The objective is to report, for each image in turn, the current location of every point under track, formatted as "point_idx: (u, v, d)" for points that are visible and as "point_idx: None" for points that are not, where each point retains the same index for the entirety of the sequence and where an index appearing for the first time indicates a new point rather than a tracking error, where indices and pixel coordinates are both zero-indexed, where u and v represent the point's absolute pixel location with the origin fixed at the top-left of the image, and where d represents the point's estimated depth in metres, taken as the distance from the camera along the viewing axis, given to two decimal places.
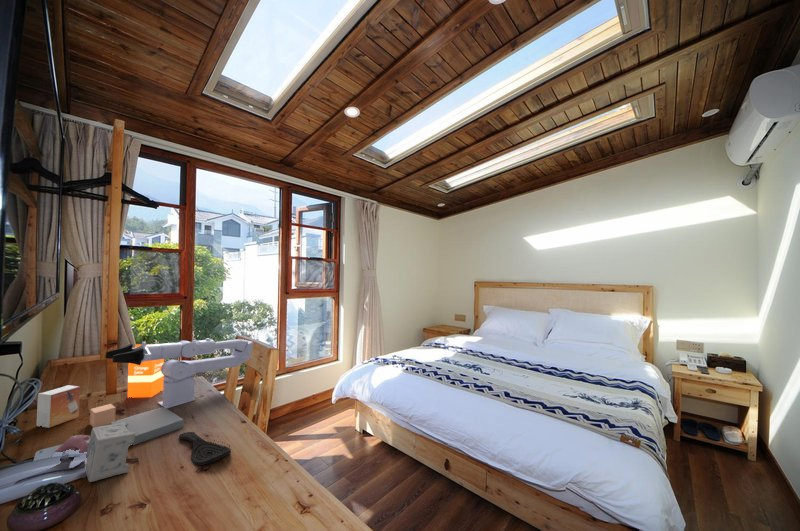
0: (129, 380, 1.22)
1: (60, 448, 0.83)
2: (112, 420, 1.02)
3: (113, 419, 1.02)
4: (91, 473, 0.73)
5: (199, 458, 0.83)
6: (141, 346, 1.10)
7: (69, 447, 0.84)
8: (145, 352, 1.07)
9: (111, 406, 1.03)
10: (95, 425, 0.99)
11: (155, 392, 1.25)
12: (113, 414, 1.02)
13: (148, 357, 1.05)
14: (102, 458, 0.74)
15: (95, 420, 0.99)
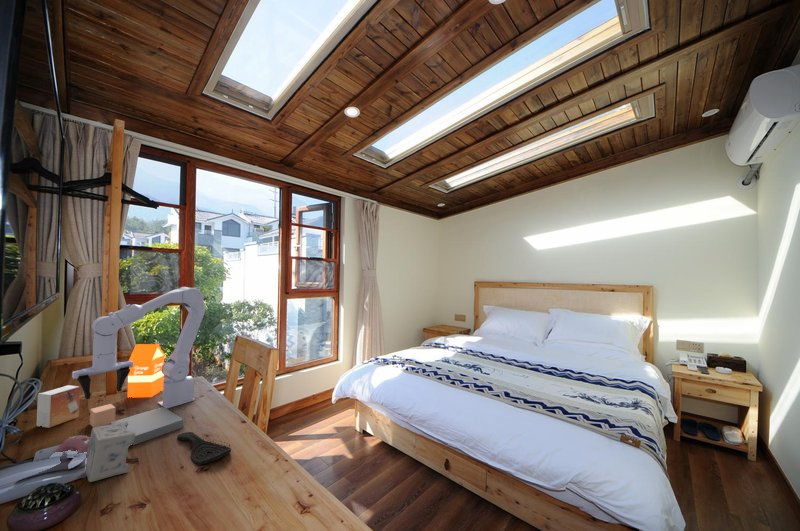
0: (129, 380, 1.22)
1: (58, 449, 0.82)
2: (112, 420, 1.02)
3: (113, 419, 1.02)
4: (91, 473, 0.73)
5: (199, 458, 0.83)
6: None
7: (67, 448, 0.83)
8: None
9: (111, 406, 1.03)
10: (95, 425, 0.99)
11: (155, 392, 1.25)
12: (113, 414, 1.02)
13: (72, 375, 0.96)
14: (102, 458, 0.74)
15: (95, 420, 0.99)
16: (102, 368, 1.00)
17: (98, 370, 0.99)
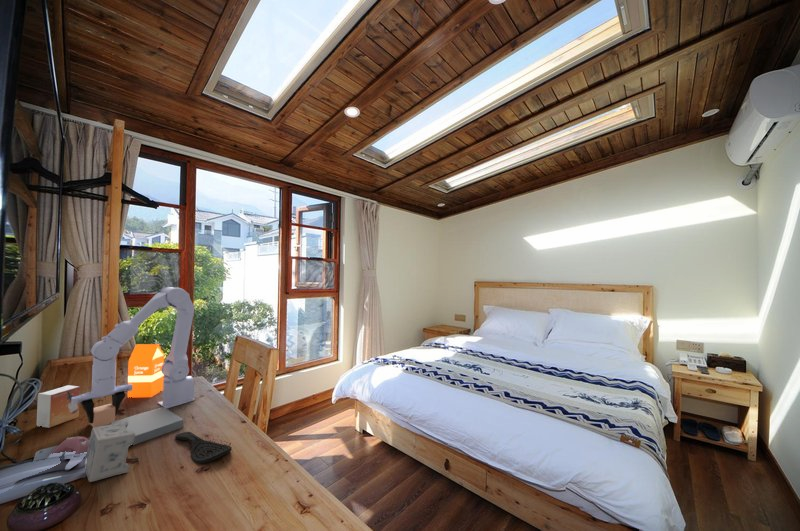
0: (129, 380, 1.22)
1: (56, 450, 0.82)
2: (112, 420, 1.02)
3: (113, 419, 1.02)
4: (91, 473, 0.73)
5: (200, 457, 0.84)
6: None
7: (65, 449, 0.83)
8: None
9: (111, 406, 1.03)
10: (95, 425, 0.99)
11: (155, 392, 1.25)
12: (113, 414, 1.02)
13: (71, 401, 0.96)
14: (102, 458, 0.74)
15: (95, 420, 0.99)
16: (101, 393, 1.00)
17: (97, 395, 0.99)
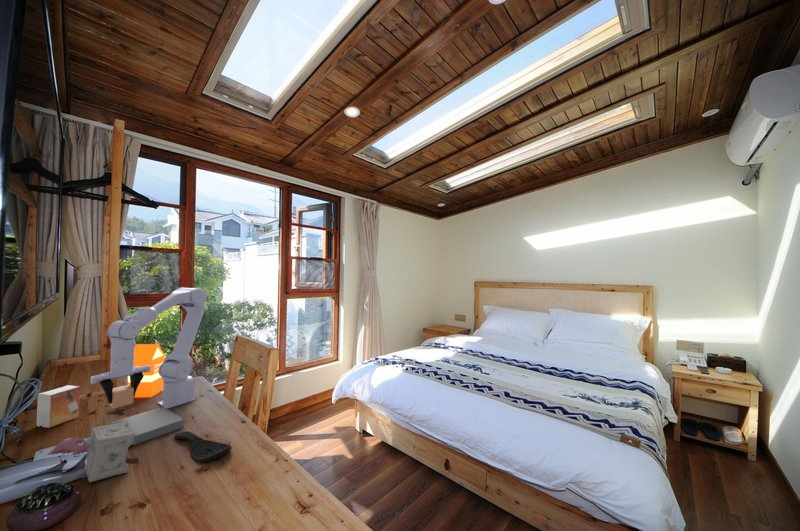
0: (129, 380, 1.22)
1: (52, 451, 0.81)
2: (130, 401, 1.01)
3: (131, 400, 1.01)
4: (91, 473, 0.73)
5: (200, 455, 0.84)
6: None
7: (62, 450, 0.82)
8: None
9: (129, 387, 1.02)
10: (114, 405, 0.98)
11: (155, 392, 1.25)
12: (131, 394, 1.01)
13: (91, 380, 0.95)
14: (102, 458, 0.74)
15: (114, 400, 0.98)
16: (120, 373, 0.99)
17: (116, 375, 0.98)
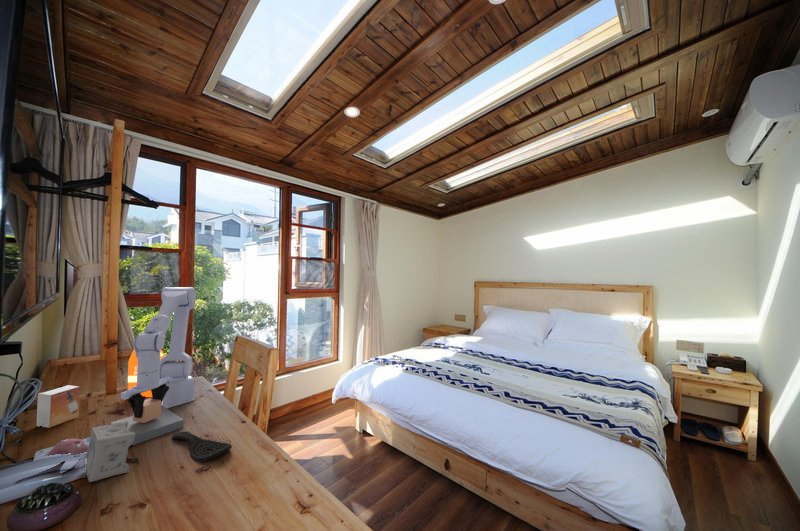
0: (129, 380, 1.22)
1: (50, 452, 0.81)
2: (158, 413, 1.00)
3: (159, 412, 1.00)
4: (91, 473, 0.73)
5: (200, 455, 0.85)
6: None
7: (59, 451, 0.82)
8: None
9: (154, 400, 1.01)
10: (145, 419, 0.96)
11: None
12: (159, 407, 1.00)
13: (122, 396, 0.92)
14: (102, 458, 0.74)
15: (145, 414, 0.96)
16: (151, 386, 0.97)
17: (147, 388, 0.97)
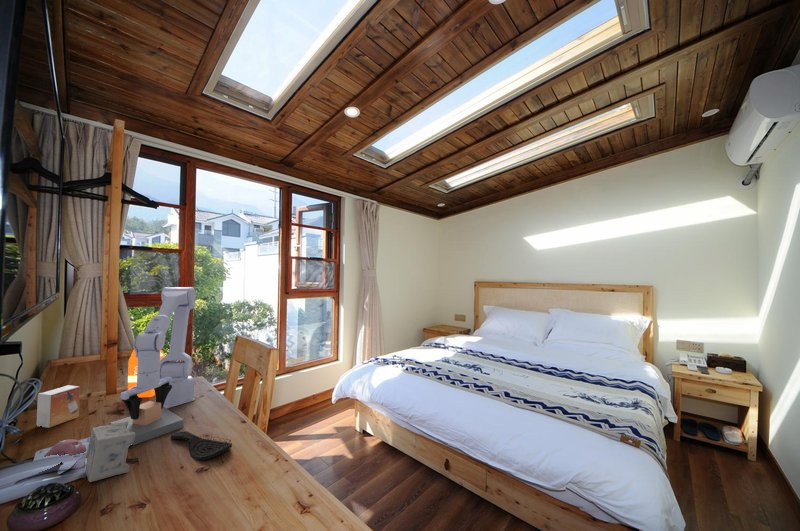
0: (129, 380, 1.22)
1: (48, 453, 0.80)
2: (158, 416, 1.00)
3: (159, 415, 1.00)
4: (91, 473, 0.73)
5: (200, 454, 0.85)
6: None
7: (57, 452, 0.81)
8: None
9: (154, 402, 1.01)
10: (145, 422, 0.96)
11: None
12: (159, 410, 1.00)
13: (122, 396, 0.92)
14: (102, 458, 0.74)
15: (145, 417, 0.96)
16: (151, 386, 0.97)
17: (147, 388, 0.97)
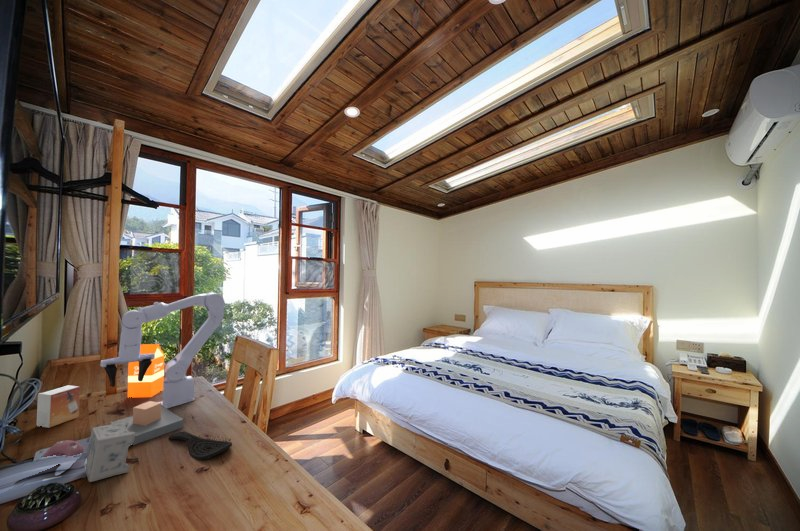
0: (129, 380, 1.22)
1: (45, 454, 0.80)
2: (158, 416, 1.00)
3: (159, 415, 1.00)
4: (91, 473, 0.73)
5: (200, 453, 0.85)
6: None
7: (55, 453, 0.81)
8: None
9: (154, 402, 1.01)
10: (145, 422, 0.96)
11: (155, 392, 1.25)
12: (159, 410, 1.00)
13: (101, 363, 1.04)
14: (102, 458, 0.74)
15: (145, 417, 0.96)
16: (128, 358, 1.07)
17: (124, 360, 1.07)
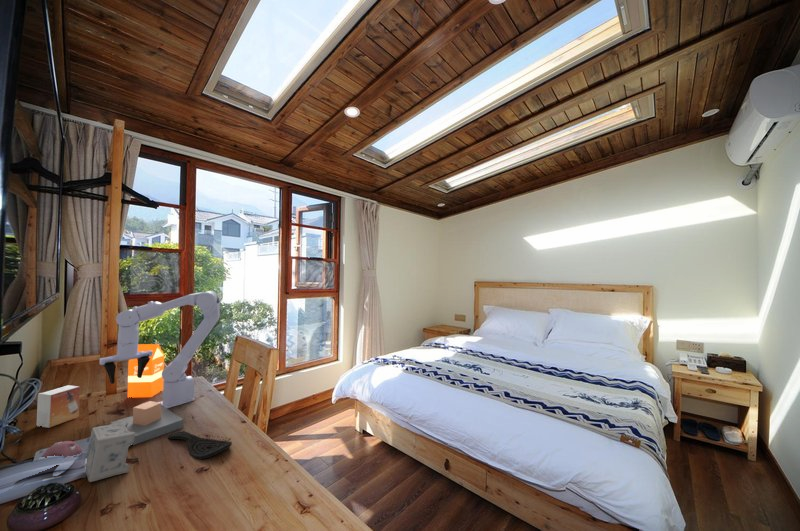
0: (129, 380, 1.22)
1: (43, 455, 0.80)
2: (158, 416, 1.00)
3: (159, 415, 1.00)
4: (91, 473, 0.73)
5: (200, 453, 0.86)
6: None
7: (53, 454, 0.80)
8: None
9: (154, 402, 1.01)
10: (145, 422, 0.96)
11: (155, 392, 1.25)
12: (159, 410, 1.00)
13: (100, 361, 1.07)
14: (102, 458, 0.74)
15: (145, 417, 0.96)
16: (126, 356, 1.10)
17: (122, 358, 1.10)
